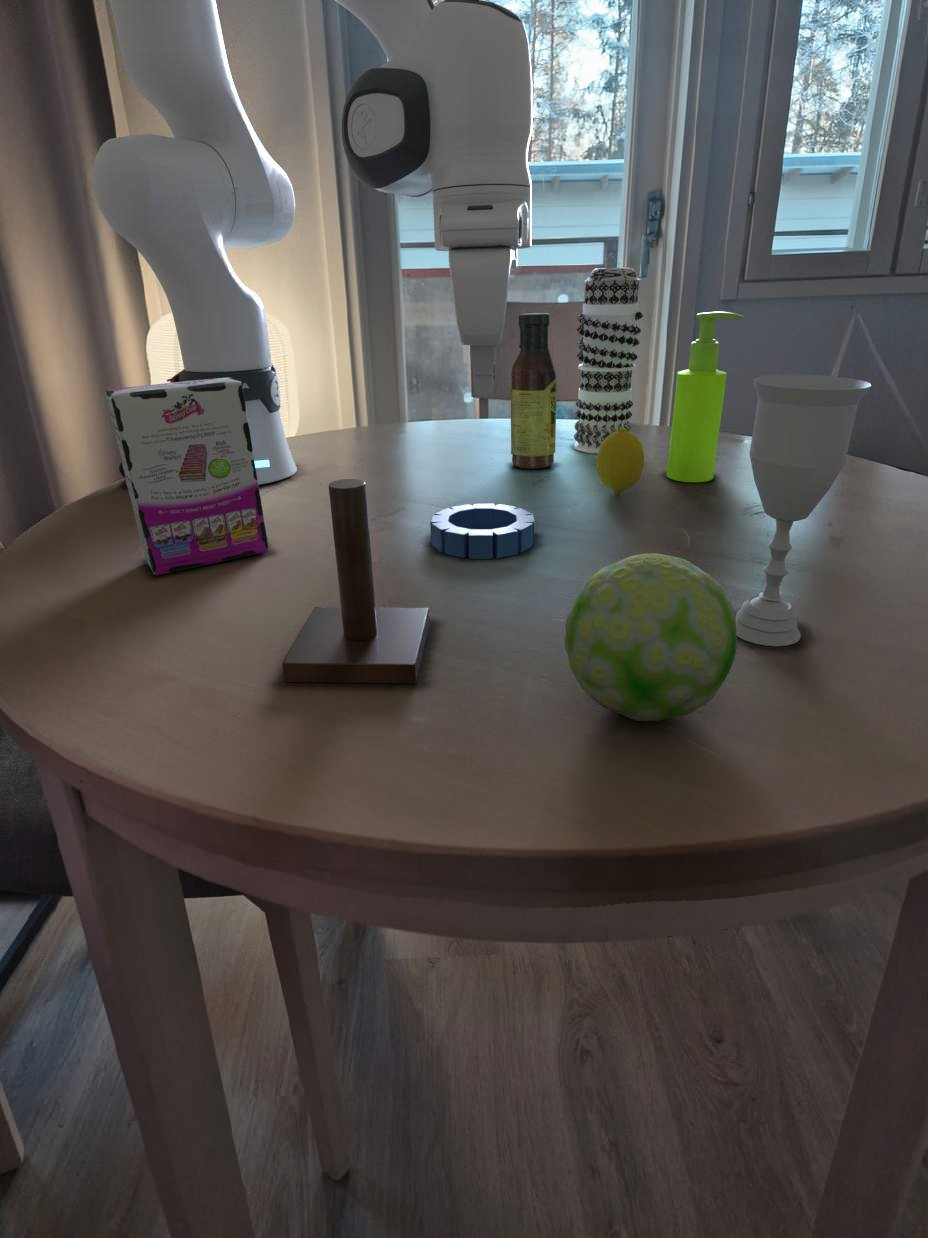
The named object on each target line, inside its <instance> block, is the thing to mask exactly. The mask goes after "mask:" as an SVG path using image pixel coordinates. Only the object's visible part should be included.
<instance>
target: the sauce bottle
mask: <svg viewBox="0 0 928 1238" xmlns="http://www.w3.org/2000/svg"><path fill="white" fill-rule="evenodd" d="M550 323H551V321H550V313H549V312H547V313H546V312H534V313H533V312H532V313H531V312H530V313H521V314H519V315H518V328H519V345H518V347H519V349H520V350H519V353H518V355H517V357H516V359H515V360H514V362H513V364H512V367H511V373H510V375H511V388H510V455H512V456H511V462H512V465H513V466H514V467H516V468H519V469H525V470H526V469H528V470H533V469H545V468H548V467H551V466H552V465H553V464H554V461H555V453H556V434H557V433H556V430H557V427H556V426H557V385H558V384H557V381H558V377H557V372H556V369H555V366H554V362H553V359H552V355H551V352H550V349H549V326H550Z"/></svg>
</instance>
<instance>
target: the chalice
mask: <svg viewBox="0 0 928 1238" xmlns="http://www.w3.org/2000/svg"><path fill="white" fill-rule="evenodd" d="M752 383H753V386H754V389H755V392H756V395H757V402H756V409H755V416H754V422H753V429H752V435H751V442H750V449H749V459H750V464H751V470H752V477H753V481H754V484H755V487H756V490H757V493H758V496H759V499H760V502H761V505H762V508H763V511H764V513H765V515H766V516H768V517H771V518H772V519H773V520H775V528H776V530H775V533H774V535H773V537H772V540H771V541H770V542H769V543H768V544H767V546H768V548H769V550H770V559H769V562H768V564H766V566H763V567H762V571H763V572H764V574H765V580H766V585H765V587H764V589H763V591H762V592H760V593H759V595H755V596H751V597H750V598H748V599H747V600H745V601H744V602H743V603H742V605H741V608H740V609H739V610H738V611H737V612H736V614H735V619H736V636H737V638H740V639H741V640H744V641H746V642H748V643H752V644H756V645H760V646H768V647H785V646H790V645H794V644H796V643H797V642H799V641H800V640H801V637H802V634H801V632H800V629H799V628H798V625H799V622H798V620H797V617H796V611H795V609H794V607H793V606H792V604H791V602H789V601H788V600H786V599H784V598H783V596H782V595H781V593H780V585H781V583H782V581H783V579H784V577H786V576H787V575H789V573H790V572H789V570H788V569H787V568H786V563H785V559H786V557H787V555H788V553H789V552H790V551H791V550H792V549H793V546H792V545H791V540H790V539H791V538H790V531H791V529H792V526H793V524H794V522H798V521H802V520H803V521H804V520H805V519H807V518H808V517H809V516H810V514H812V512H813V511H814V510H815V508H816V507H817V506H818V505H819V503H820V502H821V501H822V499H823V498H824V497H825V495H826V494H827V493H828V492H829V491H830V490H831V488H832V486H833V484H835V483H834V482H835V481H836V479H837V478H838V476H839V474H840V473H841V471H842V469H843V468H844V466H845V464H846V462H847V457H848V452H849V449H850V443H851V439H852V433H853V429H854V425H855V419H856V415H857V410H858V405H859V403H860V401H862V399H863V397H864V396H865V395H866V393H868V391H869V390H870V389H871V387H872V384H871V382H868V381H866V380H861V379H856V378H850V377H842V376H833V375H831V376H830V375H821V374H820V375H817V374H816V375H815V374H771V375H762V376H756V377H754V378H753V379H752Z"/></svg>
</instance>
